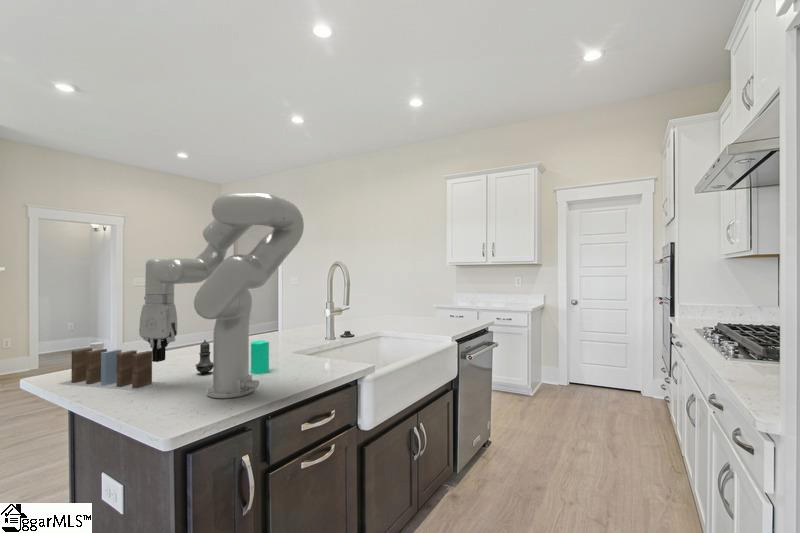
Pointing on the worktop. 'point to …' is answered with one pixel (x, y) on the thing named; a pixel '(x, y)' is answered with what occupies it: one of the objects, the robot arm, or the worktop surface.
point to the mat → (112, 385)
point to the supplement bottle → (97, 345)
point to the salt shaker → (204, 360)
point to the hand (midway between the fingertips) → (158, 360)
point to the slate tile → (109, 367)
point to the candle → (259, 357)
